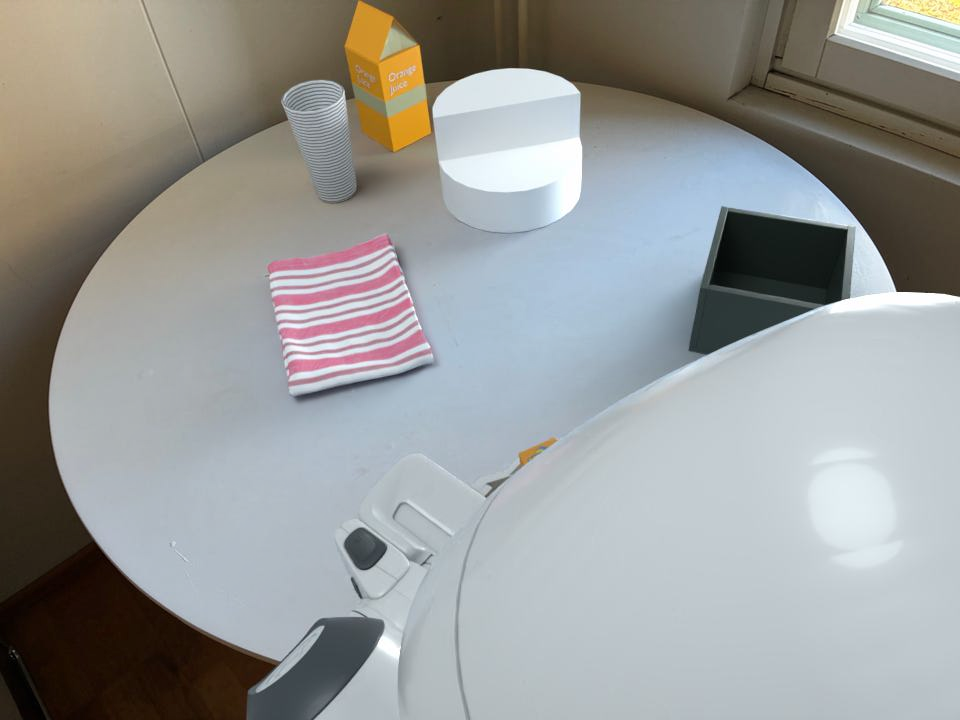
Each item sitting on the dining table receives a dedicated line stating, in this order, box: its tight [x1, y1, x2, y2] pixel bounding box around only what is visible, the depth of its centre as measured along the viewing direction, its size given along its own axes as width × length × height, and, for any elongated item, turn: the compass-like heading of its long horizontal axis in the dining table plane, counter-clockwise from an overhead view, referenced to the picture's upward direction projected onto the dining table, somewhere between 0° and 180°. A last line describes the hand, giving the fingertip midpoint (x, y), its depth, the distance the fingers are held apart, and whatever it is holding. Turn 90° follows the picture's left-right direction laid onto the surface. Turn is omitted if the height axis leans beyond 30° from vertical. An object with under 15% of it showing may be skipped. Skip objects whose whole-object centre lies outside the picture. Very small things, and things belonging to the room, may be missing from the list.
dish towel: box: [267, 232, 434, 397], centre depth 94 cm, size 17×23×4 cm
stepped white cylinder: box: [432, 67, 583, 234], centre depth 106 cm, size 20×20×13 cm
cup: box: [281, 78, 358, 204], centre depth 108 cm, size 8×8×16 cm
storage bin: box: [687, 205, 857, 355], centre depth 87 cm, size 15×15×10 cm
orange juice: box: [343, 0, 432, 153], centre depth 116 cm, size 8×9×20 cm
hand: (555, 484), depth 57 cm, fingers closed on supplement box, 4 cm apart
